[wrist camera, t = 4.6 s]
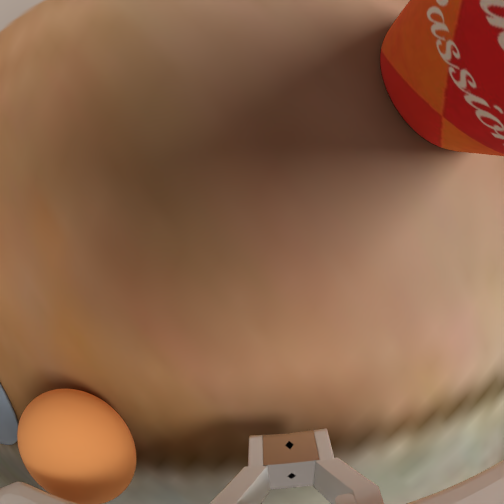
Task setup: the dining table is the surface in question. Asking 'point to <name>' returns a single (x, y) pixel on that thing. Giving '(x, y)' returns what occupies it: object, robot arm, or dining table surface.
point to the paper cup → (449, 72)
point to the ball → (76, 446)
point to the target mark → (7, 420)
